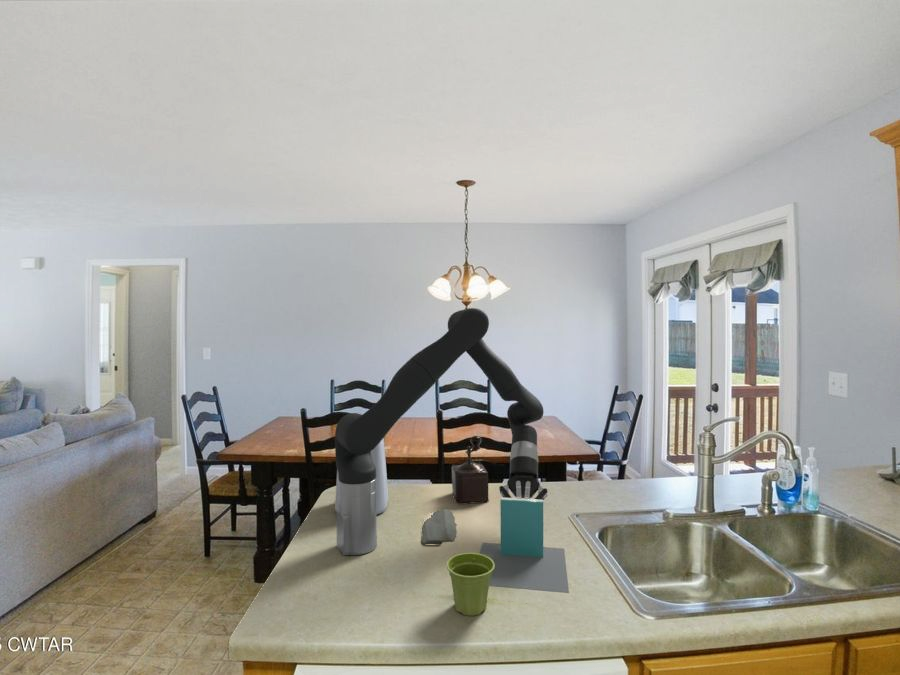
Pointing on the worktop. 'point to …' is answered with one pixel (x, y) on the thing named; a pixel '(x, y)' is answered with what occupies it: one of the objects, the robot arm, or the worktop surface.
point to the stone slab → (439, 528)
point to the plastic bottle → (381, 479)
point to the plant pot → (470, 581)
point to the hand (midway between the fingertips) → (522, 524)
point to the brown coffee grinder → (470, 478)
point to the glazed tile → (522, 527)
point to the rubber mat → (528, 569)
